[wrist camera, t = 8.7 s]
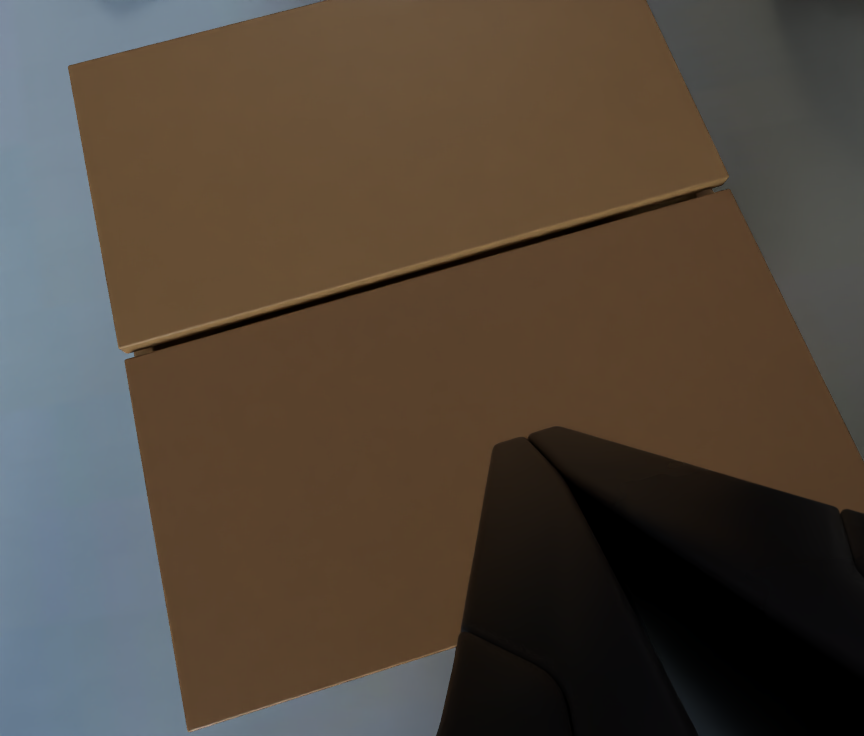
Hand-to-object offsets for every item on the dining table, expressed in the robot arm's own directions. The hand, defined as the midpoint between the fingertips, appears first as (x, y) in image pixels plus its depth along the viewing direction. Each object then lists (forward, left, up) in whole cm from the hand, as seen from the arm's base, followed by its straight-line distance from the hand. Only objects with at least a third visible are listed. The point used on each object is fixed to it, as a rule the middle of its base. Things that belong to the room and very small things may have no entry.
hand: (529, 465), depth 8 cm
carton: (+4, +1, -12) cm, 13 cm away
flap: (+1, 0, -3) cm, 4 cm away
